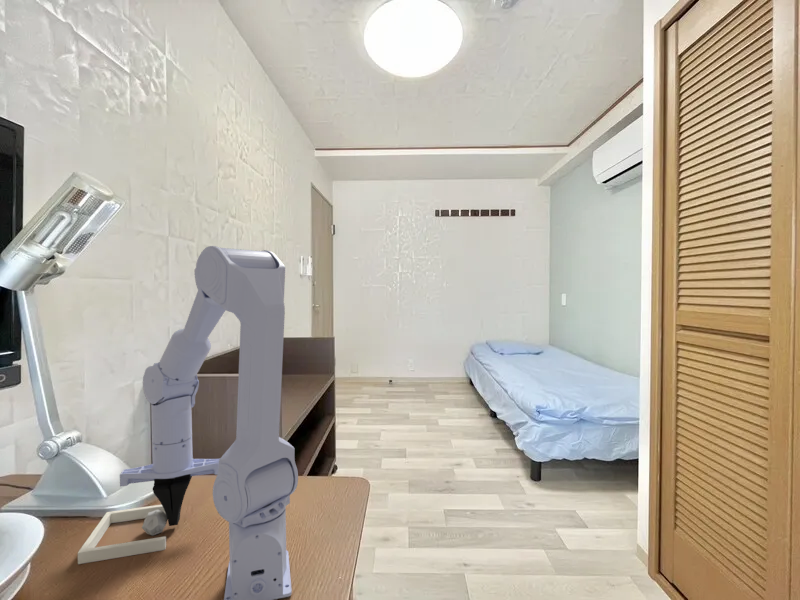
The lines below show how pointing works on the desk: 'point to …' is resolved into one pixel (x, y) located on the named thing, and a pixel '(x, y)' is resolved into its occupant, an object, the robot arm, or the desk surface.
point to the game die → (155, 522)
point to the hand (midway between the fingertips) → (174, 522)
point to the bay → (123, 549)
